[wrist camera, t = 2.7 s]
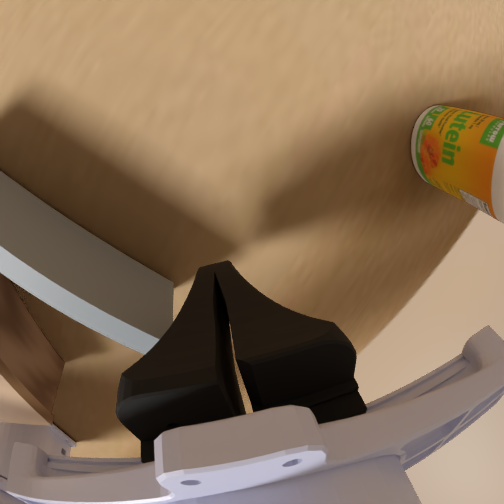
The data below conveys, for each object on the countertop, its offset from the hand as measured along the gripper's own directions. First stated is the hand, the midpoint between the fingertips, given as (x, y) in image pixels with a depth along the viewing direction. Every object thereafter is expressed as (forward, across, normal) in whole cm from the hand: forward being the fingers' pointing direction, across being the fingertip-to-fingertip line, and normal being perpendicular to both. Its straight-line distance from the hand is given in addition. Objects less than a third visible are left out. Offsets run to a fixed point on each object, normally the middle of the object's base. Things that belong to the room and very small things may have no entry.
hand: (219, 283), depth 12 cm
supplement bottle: (+4, -15, -4) cm, 16 cm away
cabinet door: (+3, +8, -4) cm, 9 cm away
